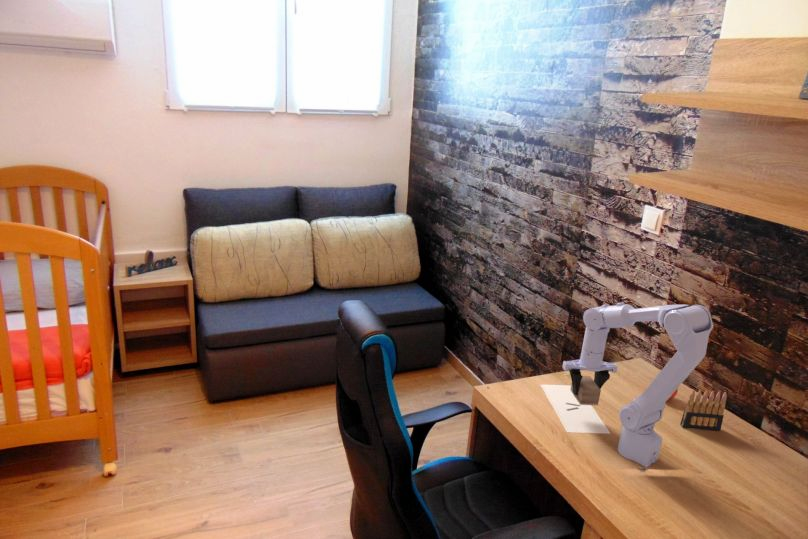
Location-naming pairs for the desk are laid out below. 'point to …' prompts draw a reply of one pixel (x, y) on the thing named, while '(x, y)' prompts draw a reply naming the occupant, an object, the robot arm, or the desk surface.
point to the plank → (573, 411)
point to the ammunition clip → (704, 412)
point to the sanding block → (587, 392)
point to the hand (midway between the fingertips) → (584, 393)
